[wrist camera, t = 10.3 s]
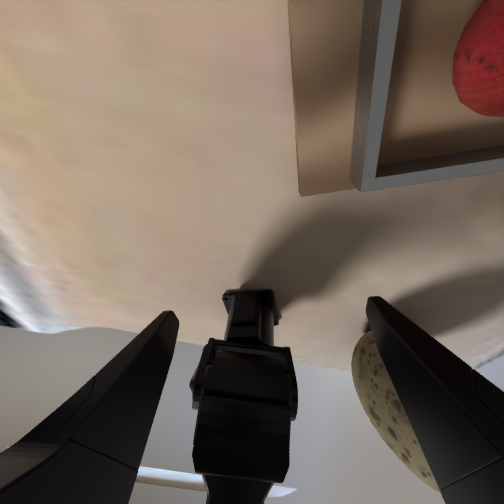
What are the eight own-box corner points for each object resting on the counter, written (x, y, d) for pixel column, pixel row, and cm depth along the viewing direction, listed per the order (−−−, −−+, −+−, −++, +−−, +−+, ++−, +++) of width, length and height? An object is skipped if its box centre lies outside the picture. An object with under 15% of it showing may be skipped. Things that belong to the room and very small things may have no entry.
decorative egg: (387, 359, 33) (456, 510, 21) (325, 342, 31) (361, 494, 19) (445, 320, 27) (591, 502, 15) (372, 297, 25) (466, 478, 13)
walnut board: (579, 147, 15) (607, 151, 14) (298, 190, 18) (300, 196, 17) (862, -293, 7) (981, -373, 6) (283, -81, 10) (284, -106, 9)
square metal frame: (546, 149, 14) (592, 158, 12) (349, 180, 16) (360, 191, 14) (774, -256, 7) (978, -400, 5) (372, -110, 9) (401, -172, 7)
